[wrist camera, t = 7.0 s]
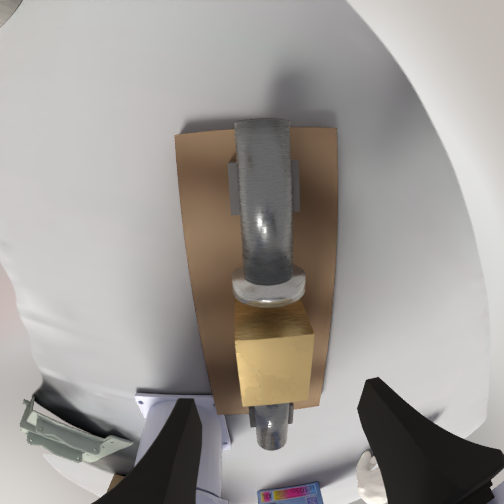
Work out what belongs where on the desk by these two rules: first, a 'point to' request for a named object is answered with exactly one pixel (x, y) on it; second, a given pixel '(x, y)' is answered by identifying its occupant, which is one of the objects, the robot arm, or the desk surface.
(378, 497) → the white sculpted piece
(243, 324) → the block
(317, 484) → the ink cartridge box
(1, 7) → the coffee cup
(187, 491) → the robot arm
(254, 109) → the desk surface
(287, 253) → the stand
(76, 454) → the metal bracket
